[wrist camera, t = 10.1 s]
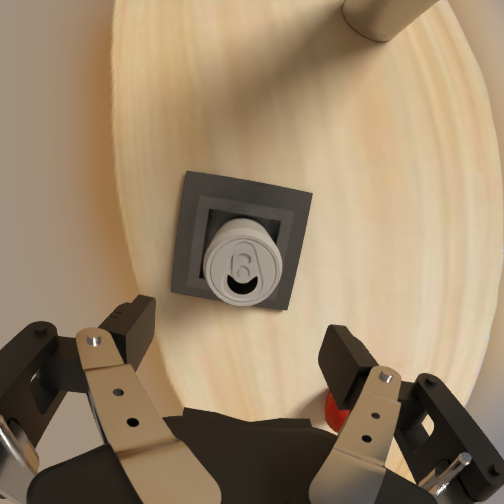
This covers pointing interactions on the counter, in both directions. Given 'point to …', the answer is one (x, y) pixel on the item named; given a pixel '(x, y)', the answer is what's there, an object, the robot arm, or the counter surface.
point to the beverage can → (242, 262)
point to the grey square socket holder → (231, 206)
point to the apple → (334, 414)
